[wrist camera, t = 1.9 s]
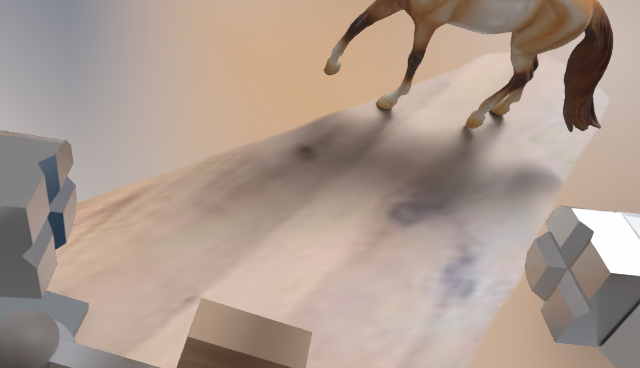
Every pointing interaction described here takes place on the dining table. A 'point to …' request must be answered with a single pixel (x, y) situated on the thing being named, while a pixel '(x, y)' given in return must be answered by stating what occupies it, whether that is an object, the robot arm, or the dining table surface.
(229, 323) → the lever with brown handle
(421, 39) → the horse figurine
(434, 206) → the dining table surface
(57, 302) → the white-striped grey panel
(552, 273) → the robot arm
